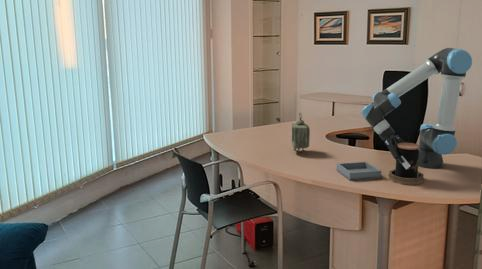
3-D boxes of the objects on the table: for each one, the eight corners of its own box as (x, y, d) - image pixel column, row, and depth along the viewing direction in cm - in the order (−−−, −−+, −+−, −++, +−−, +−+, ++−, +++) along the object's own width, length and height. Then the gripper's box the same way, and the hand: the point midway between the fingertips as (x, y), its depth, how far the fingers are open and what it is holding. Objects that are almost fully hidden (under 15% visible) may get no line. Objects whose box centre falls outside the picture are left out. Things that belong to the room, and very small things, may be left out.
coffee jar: (406, 184, 236) (409, 148, 232) (390, 178, 245) (392, 144, 241) (421, 180, 241) (424, 146, 237) (405, 174, 250) (407, 141, 246)
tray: (365, 168, 261) (366, 161, 261) (380, 178, 245) (381, 170, 244) (336, 170, 258) (336, 163, 257) (349, 180, 242) (349, 173, 241)
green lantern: (291, 149, 302) (292, 110, 296) (305, 149, 302) (306, 110, 296) (294, 155, 287) (295, 114, 282) (309, 155, 288) (310, 114, 282)
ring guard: (411, 173, 253) (412, 167, 252) (429, 183, 237) (430, 177, 236) (383, 175, 249) (383, 170, 249) (399, 185, 234) (399, 180, 233)
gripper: (387, 130, 256) (414, 163, 251) (369, 139, 239) (398, 174, 233) (398, 122, 252) (426, 155, 246) (380, 130, 234) (410, 166, 229)
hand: (412, 165), depth 240 cm, fingers closed on coffee jar, 11 cm apart
